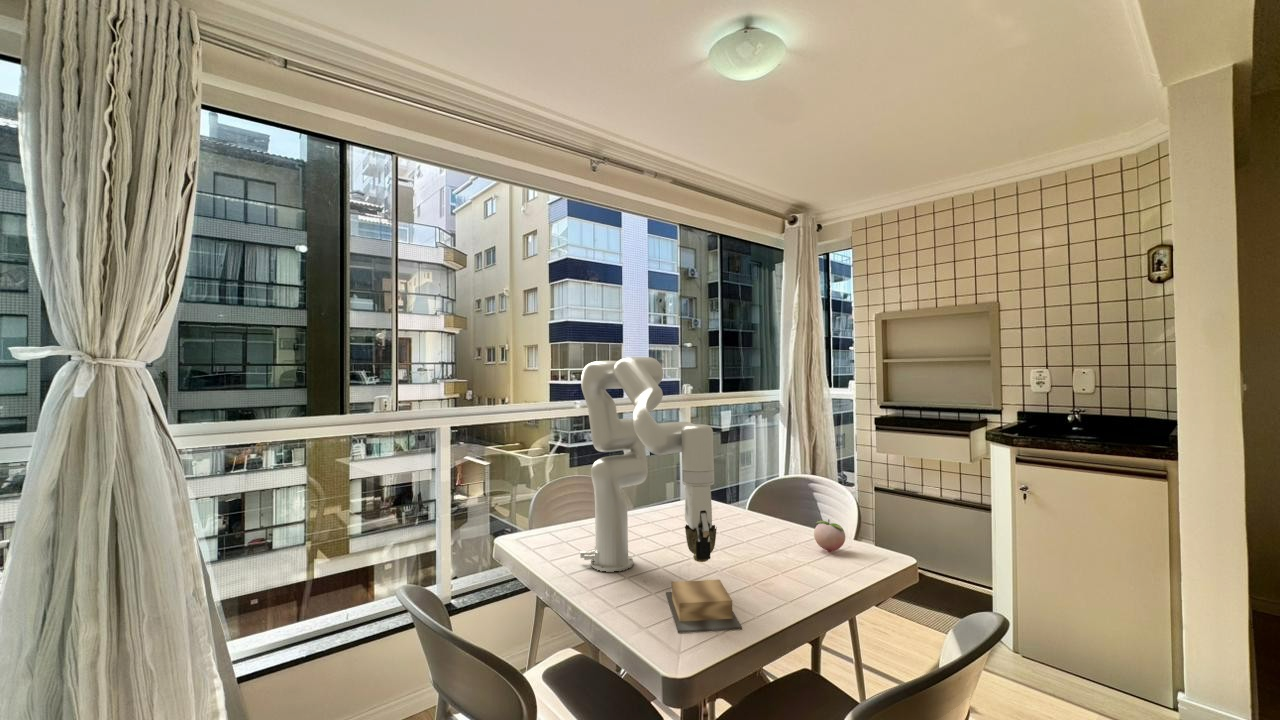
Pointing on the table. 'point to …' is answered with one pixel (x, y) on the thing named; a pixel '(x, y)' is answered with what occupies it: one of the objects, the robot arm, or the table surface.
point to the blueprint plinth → (701, 606)
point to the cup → (692, 539)
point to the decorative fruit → (829, 535)
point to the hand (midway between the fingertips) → (700, 552)
